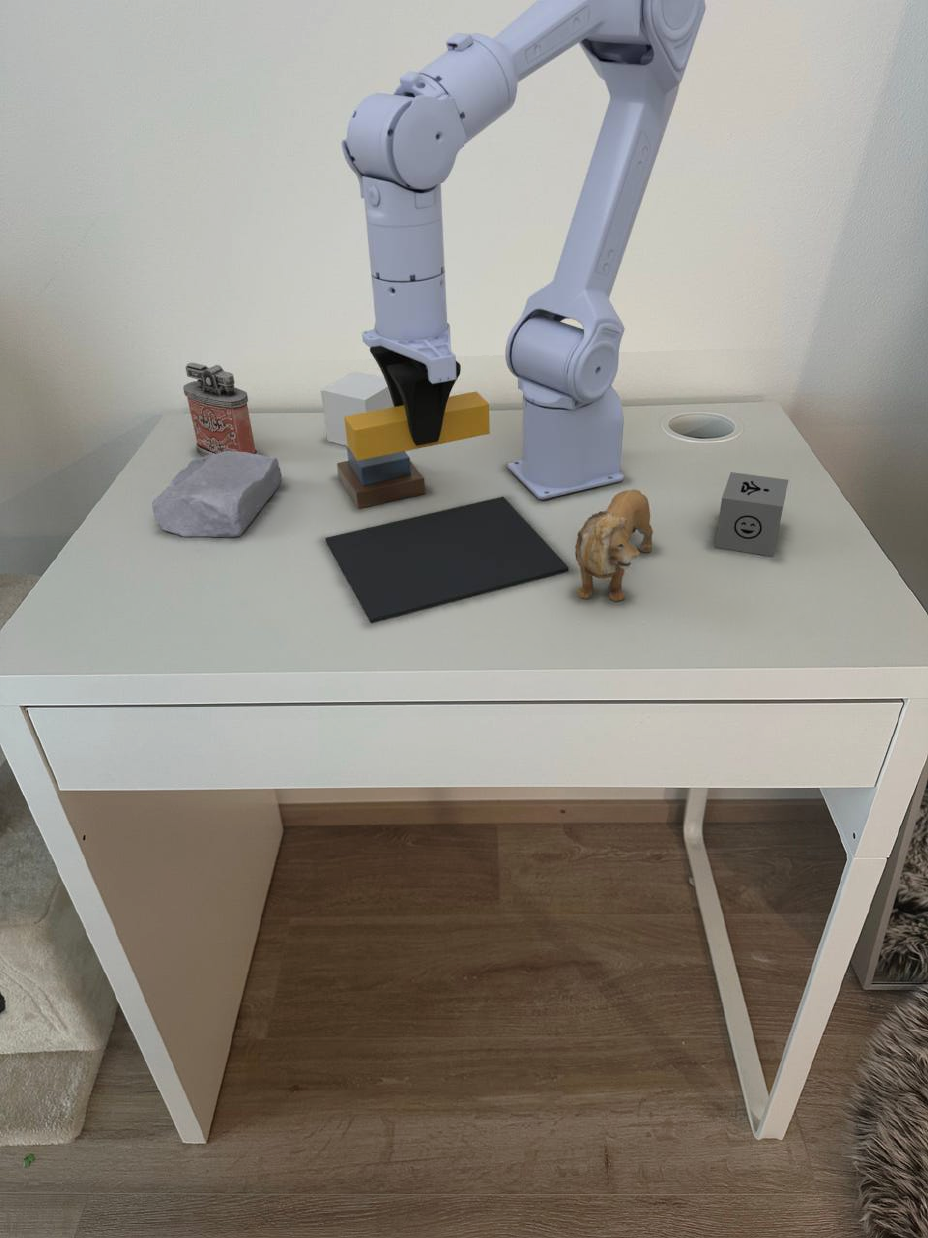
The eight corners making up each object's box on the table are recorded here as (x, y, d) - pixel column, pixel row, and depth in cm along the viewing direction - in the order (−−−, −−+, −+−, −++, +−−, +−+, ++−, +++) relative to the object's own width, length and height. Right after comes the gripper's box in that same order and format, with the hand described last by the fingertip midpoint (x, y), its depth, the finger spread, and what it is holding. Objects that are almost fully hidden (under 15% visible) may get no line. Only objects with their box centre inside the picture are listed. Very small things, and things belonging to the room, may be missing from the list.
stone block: (155, 549, 90) (247, 539, 87) (134, 505, 87) (228, 492, 84) (208, 494, 99) (292, 483, 96) (191, 452, 97) (277, 439, 94)
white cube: (360, 420, 108) (354, 370, 104) (402, 431, 105) (398, 380, 102) (327, 440, 104) (320, 389, 100) (370, 452, 101) (364, 399, 98)
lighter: (266, 457, 101) (250, 368, 95) (244, 470, 99) (226, 379, 93) (212, 441, 105) (194, 354, 99) (190, 453, 102) (170, 365, 97)
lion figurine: (630, 631, 74) (639, 533, 69) (564, 621, 75) (567, 524, 70) (657, 537, 85) (666, 446, 80) (599, 529, 86) (604, 440, 81)
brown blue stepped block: (402, 464, 99) (399, 431, 96) (425, 493, 93) (423, 459, 91) (338, 478, 97) (334, 444, 94) (358, 508, 91) (354, 474, 89)
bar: (477, 420, 83) (476, 391, 82) (490, 433, 81) (489, 403, 80) (347, 446, 80) (343, 416, 79) (357, 461, 78) (353, 430, 76)
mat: (503, 499, 92) (503, 496, 91) (568, 571, 81) (569, 567, 81) (325, 541, 87) (325, 537, 86) (371, 623, 76) (370, 619, 76)
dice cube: (723, 520, 87) (730, 471, 84) (779, 528, 85) (788, 479, 83) (714, 547, 83) (722, 497, 80) (773, 556, 82) (782, 506, 79)
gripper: (333, 255, 77) (351, 410, 85) (387, 306, 66) (401, 478, 74) (414, 243, 79) (424, 396, 87) (479, 291, 68) (484, 461, 76)
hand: (419, 433), depth 80 cm, fingers closed on bar, 3 cm apart
